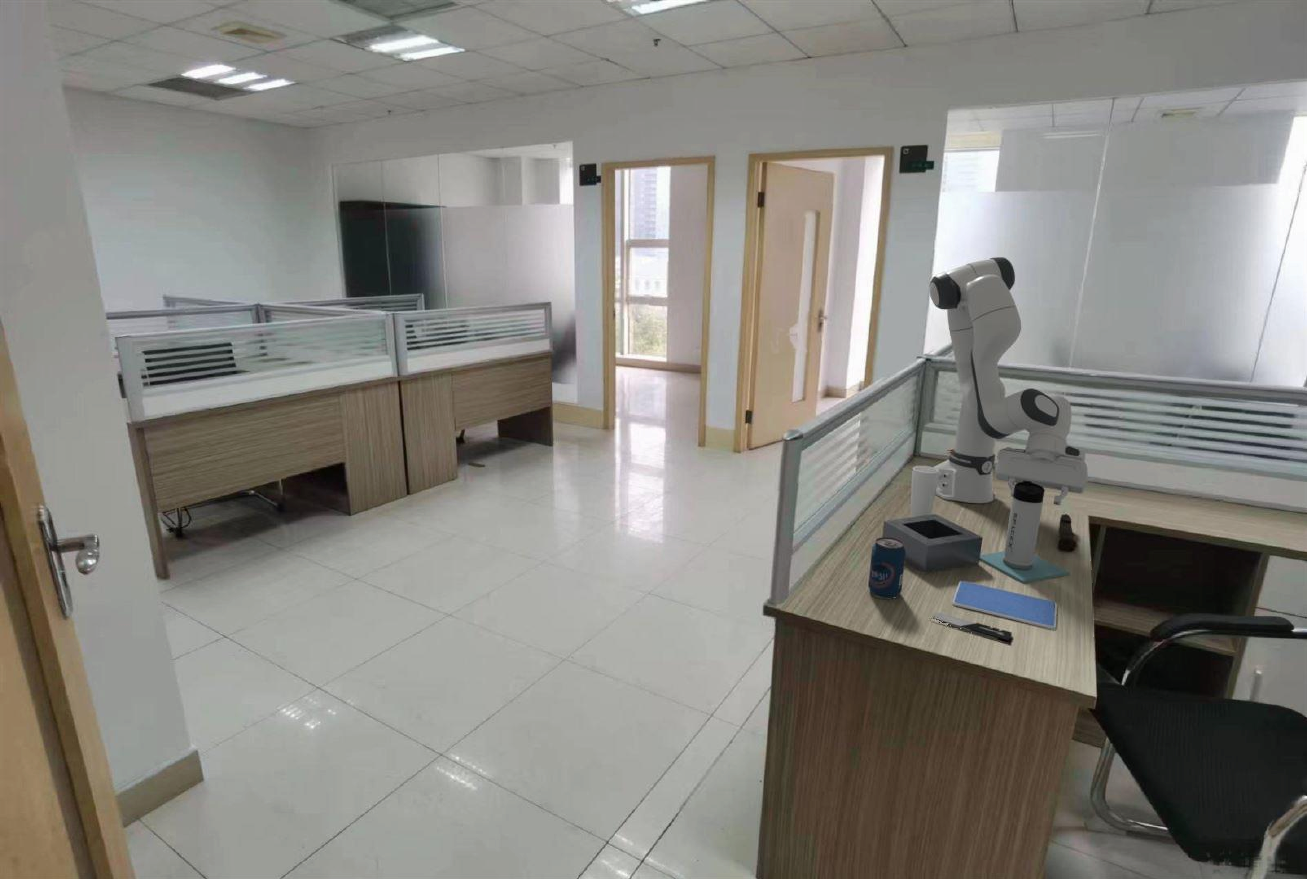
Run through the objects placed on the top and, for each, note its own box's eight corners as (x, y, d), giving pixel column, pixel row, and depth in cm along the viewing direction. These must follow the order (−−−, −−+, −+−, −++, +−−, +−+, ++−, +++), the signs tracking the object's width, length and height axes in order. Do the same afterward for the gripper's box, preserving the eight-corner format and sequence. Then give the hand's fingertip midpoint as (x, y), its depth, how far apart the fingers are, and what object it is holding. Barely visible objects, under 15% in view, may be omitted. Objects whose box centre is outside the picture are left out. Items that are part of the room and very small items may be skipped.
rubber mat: (976, 558, 167) (976, 555, 167) (1020, 550, 172) (1020, 548, 172) (1022, 583, 155) (1023, 580, 155) (1069, 574, 159) (1069, 572, 159)
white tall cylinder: (933, 518, 193) (939, 467, 189) (932, 526, 187) (938, 474, 183) (908, 514, 196) (914, 464, 192) (906, 522, 190) (911, 470, 186)
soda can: (862, 593, 149) (867, 542, 146) (875, 582, 154) (880, 533, 151) (893, 603, 145) (899, 551, 142) (905, 592, 150) (911, 541, 147)
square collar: (881, 546, 174) (883, 521, 172) (932, 538, 179) (935, 513, 177) (924, 573, 159) (927, 545, 157) (978, 564, 164) (982, 537, 162)
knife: (930, 618, 138) (935, 610, 141) (929, 622, 138) (934, 614, 141) (1010, 642, 130) (1014, 633, 133) (1010, 646, 130) (1013, 637, 133)
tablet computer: (1056, 606, 146) (1057, 600, 145) (1055, 633, 135) (1056, 627, 135) (959, 584, 155) (959, 579, 155) (950, 607, 145) (951, 602, 144)
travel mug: (1028, 560, 165) (1041, 481, 160) (1034, 571, 159) (1048, 490, 154) (1000, 556, 167) (1012, 479, 162) (1005, 567, 161) (1017, 487, 156)
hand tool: (1074, 554, 170) (1078, 537, 169) (1056, 551, 172) (1059, 534, 171) (1074, 530, 186) (1077, 514, 185) (1057, 527, 188) (1060, 511, 187)
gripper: (999, 439, 176) (988, 485, 171) (1092, 452, 166) (1083, 502, 160) (999, 452, 181) (988, 497, 176) (1089, 465, 170) (1081, 514, 165)
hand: (1035, 499), depth 168 cm, fingers open, 8 cm apart
